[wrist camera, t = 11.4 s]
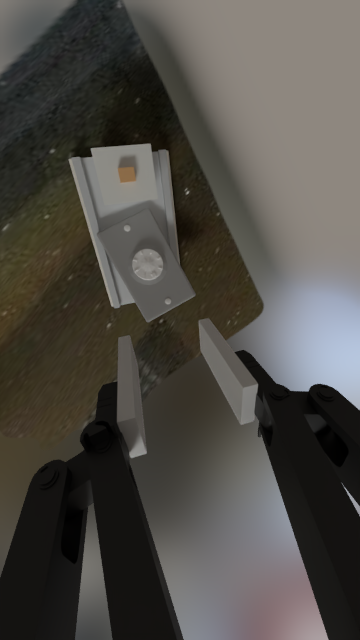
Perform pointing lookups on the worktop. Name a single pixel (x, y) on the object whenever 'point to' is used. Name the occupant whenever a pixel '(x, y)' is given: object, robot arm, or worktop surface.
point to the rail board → (124, 199)
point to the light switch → (146, 264)
